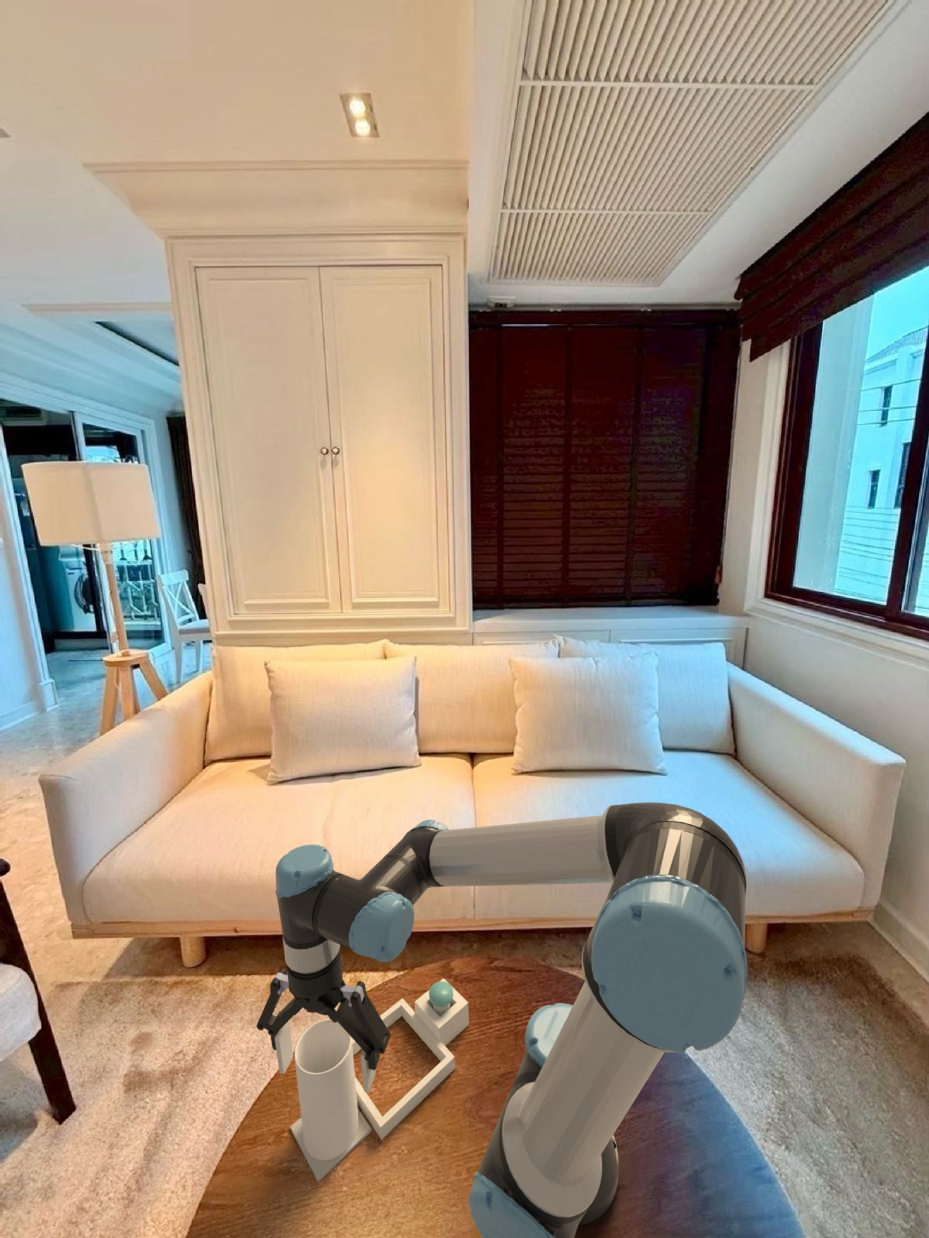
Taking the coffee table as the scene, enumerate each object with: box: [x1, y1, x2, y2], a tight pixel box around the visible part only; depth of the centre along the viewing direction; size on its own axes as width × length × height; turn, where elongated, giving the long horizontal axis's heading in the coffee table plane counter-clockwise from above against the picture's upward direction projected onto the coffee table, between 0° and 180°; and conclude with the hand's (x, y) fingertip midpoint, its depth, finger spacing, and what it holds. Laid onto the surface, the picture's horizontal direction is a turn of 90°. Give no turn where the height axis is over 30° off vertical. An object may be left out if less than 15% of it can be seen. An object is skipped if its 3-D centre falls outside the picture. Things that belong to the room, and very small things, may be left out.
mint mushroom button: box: [428, 980, 454, 1016], centre depth 96 cm, size 4×4×5 cm
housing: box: [351, 978, 470, 1141], centre depth 92 cm, size 15×22×5 cm
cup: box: [294, 1018, 359, 1160], centre depth 79 cm, size 8×8×16 cm
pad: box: [290, 1108, 372, 1183], centre depth 81 cm, size 9×9×1 cm
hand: (327, 1073), depth 78 cm, fingers open, 13 cm apart
